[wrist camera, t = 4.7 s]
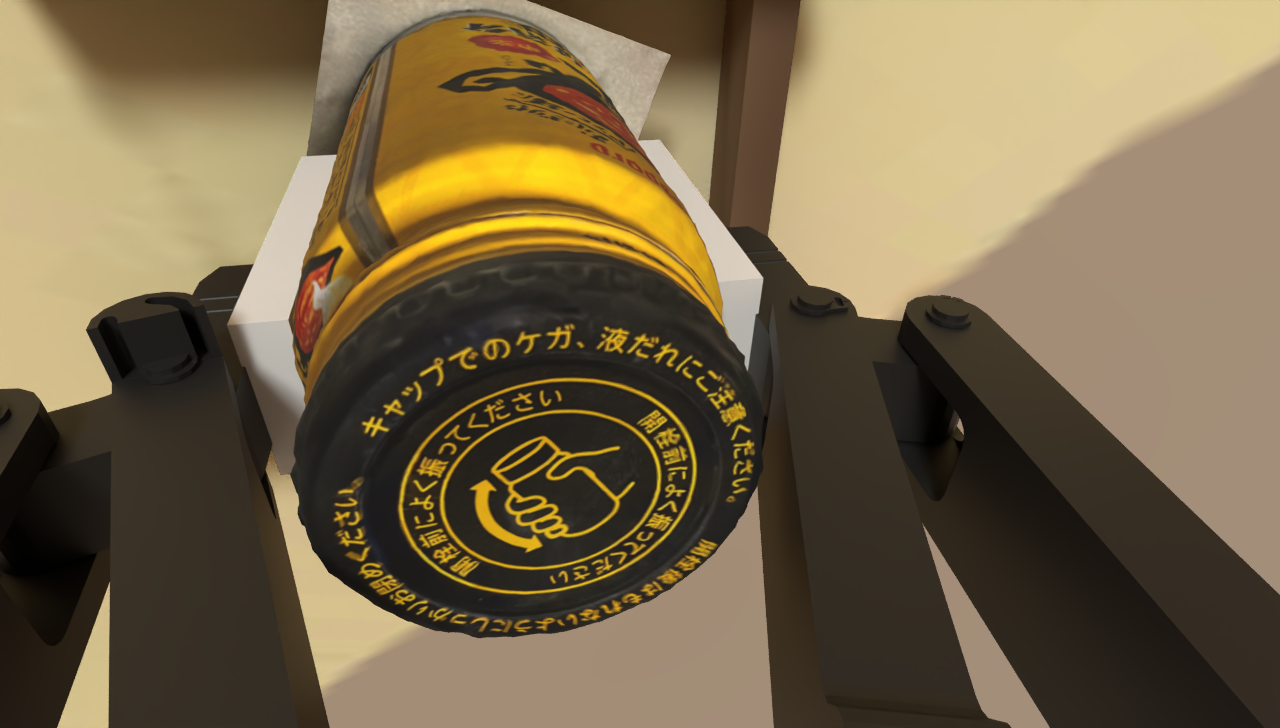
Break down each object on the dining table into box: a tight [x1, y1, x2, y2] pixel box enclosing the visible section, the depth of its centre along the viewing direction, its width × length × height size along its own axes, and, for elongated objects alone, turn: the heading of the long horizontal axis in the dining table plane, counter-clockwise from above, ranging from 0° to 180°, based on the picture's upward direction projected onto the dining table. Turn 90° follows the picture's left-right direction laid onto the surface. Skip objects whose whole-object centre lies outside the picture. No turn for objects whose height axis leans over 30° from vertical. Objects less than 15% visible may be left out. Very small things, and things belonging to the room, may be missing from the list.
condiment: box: [290, 0, 765, 638], centre depth 13 cm, size 7×8×12 cm
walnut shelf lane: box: [709, 0, 801, 236], centre depth 18 cm, size 18×13×4 cm
